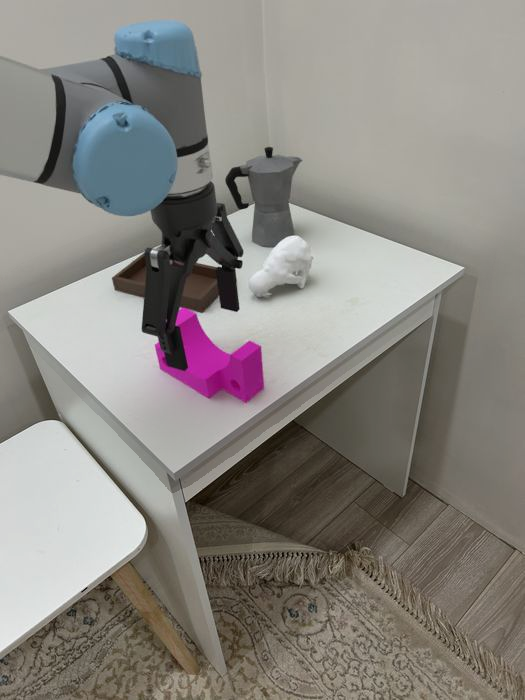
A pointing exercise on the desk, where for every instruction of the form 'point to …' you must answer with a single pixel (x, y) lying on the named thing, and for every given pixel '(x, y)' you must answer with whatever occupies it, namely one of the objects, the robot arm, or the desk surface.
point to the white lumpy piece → (283, 266)
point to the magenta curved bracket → (215, 363)
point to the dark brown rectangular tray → (196, 289)
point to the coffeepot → (267, 195)
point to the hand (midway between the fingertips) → (205, 336)
